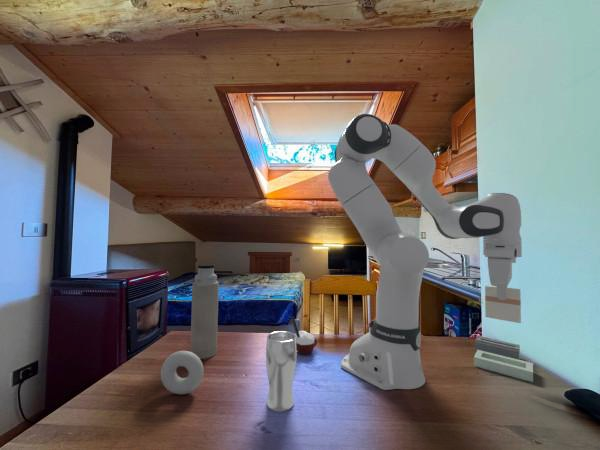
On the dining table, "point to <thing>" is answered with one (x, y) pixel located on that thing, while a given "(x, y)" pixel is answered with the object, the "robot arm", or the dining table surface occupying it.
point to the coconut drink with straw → (304, 340)
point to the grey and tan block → (497, 347)
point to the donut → (173, 380)
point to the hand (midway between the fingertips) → (502, 298)
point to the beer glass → (280, 369)
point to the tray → (504, 365)
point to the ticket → (503, 304)
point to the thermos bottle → (204, 312)
